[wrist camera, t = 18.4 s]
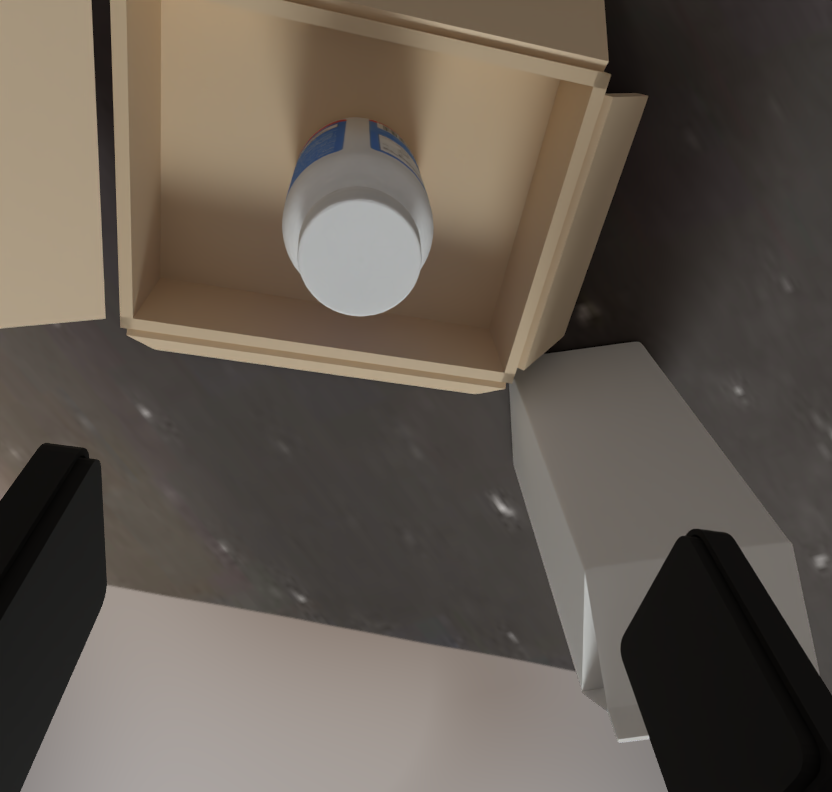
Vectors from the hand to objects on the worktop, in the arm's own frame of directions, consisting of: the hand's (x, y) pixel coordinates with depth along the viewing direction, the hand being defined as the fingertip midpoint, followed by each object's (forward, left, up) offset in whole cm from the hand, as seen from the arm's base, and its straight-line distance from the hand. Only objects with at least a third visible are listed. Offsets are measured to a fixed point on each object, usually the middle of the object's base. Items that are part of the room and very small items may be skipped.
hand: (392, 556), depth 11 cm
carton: (-1, 0, -23) cm, 23 cm away
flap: (+10, 0, -18) cm, 20 cm away
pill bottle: (+1, 0, -23) cm, 23 cm away
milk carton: (-13, +10, -23) cm, 28 cm away
